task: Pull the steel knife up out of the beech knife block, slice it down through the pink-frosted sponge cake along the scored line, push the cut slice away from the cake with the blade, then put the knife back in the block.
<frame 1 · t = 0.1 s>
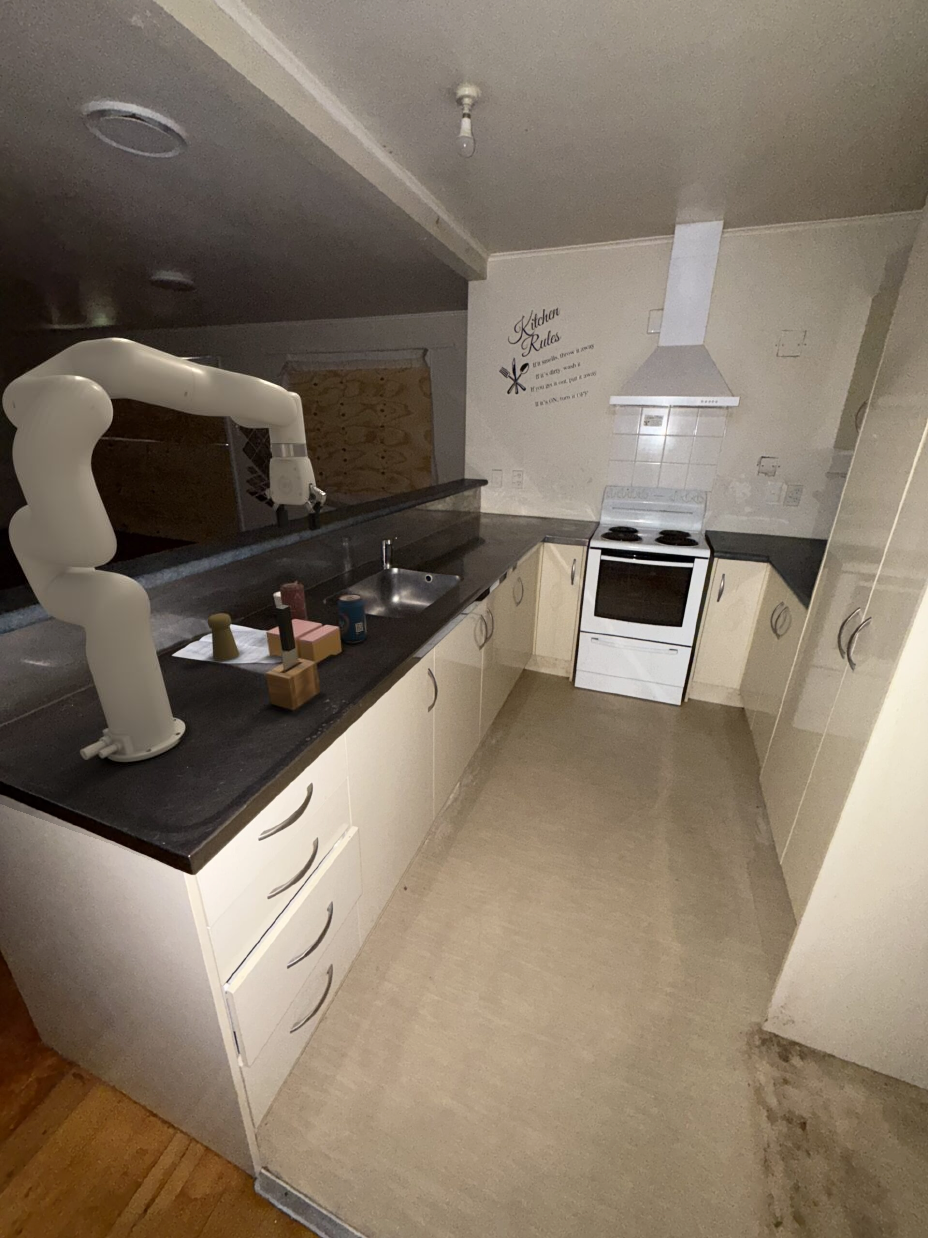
hand: (299, 528, 115), 31 cm above the counter, tool pointing down, fingers open, 9 cm apart
soda can: (354, 639, 132), on the counter
cake: (298, 652, 124), on the counter
can: (297, 631, 137), on the counter
knife: (296, 697, 101), point 1 cm above the counter, touching knife block
knife block: (296, 701, 101), on the counter
cake slice: (322, 657, 121), on the counter
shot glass: (288, 615, 149), on the counter
olive pepper shaker: (226, 656, 122), on the counter
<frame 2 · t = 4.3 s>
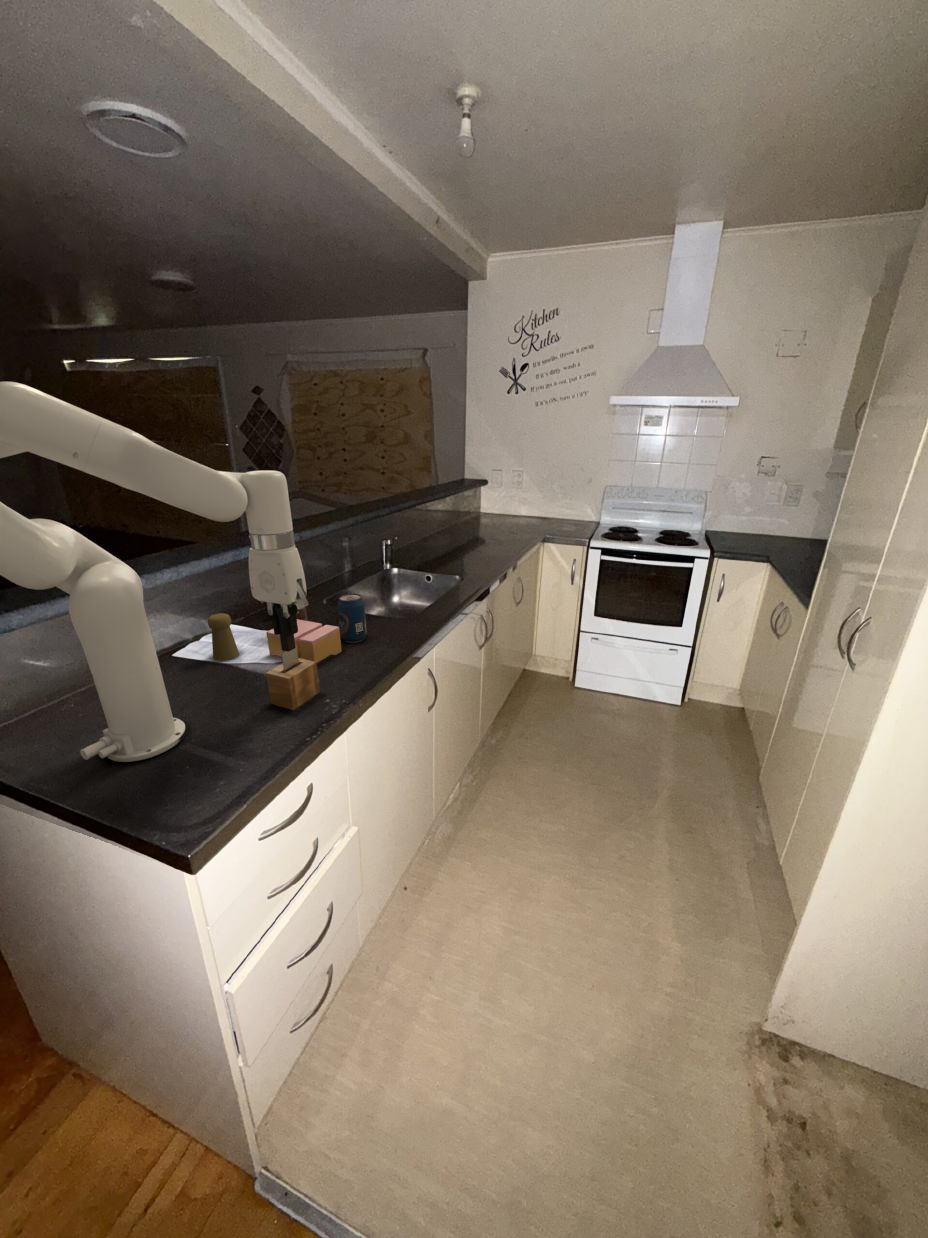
hand: (286, 632, 95), 16 cm above the counter, tool pointing down, fingers closed on knife, 1 cm apart
knife: (296, 697, 101), point 1 cm above the counter, touching gripper, knife block
everything else where it was.
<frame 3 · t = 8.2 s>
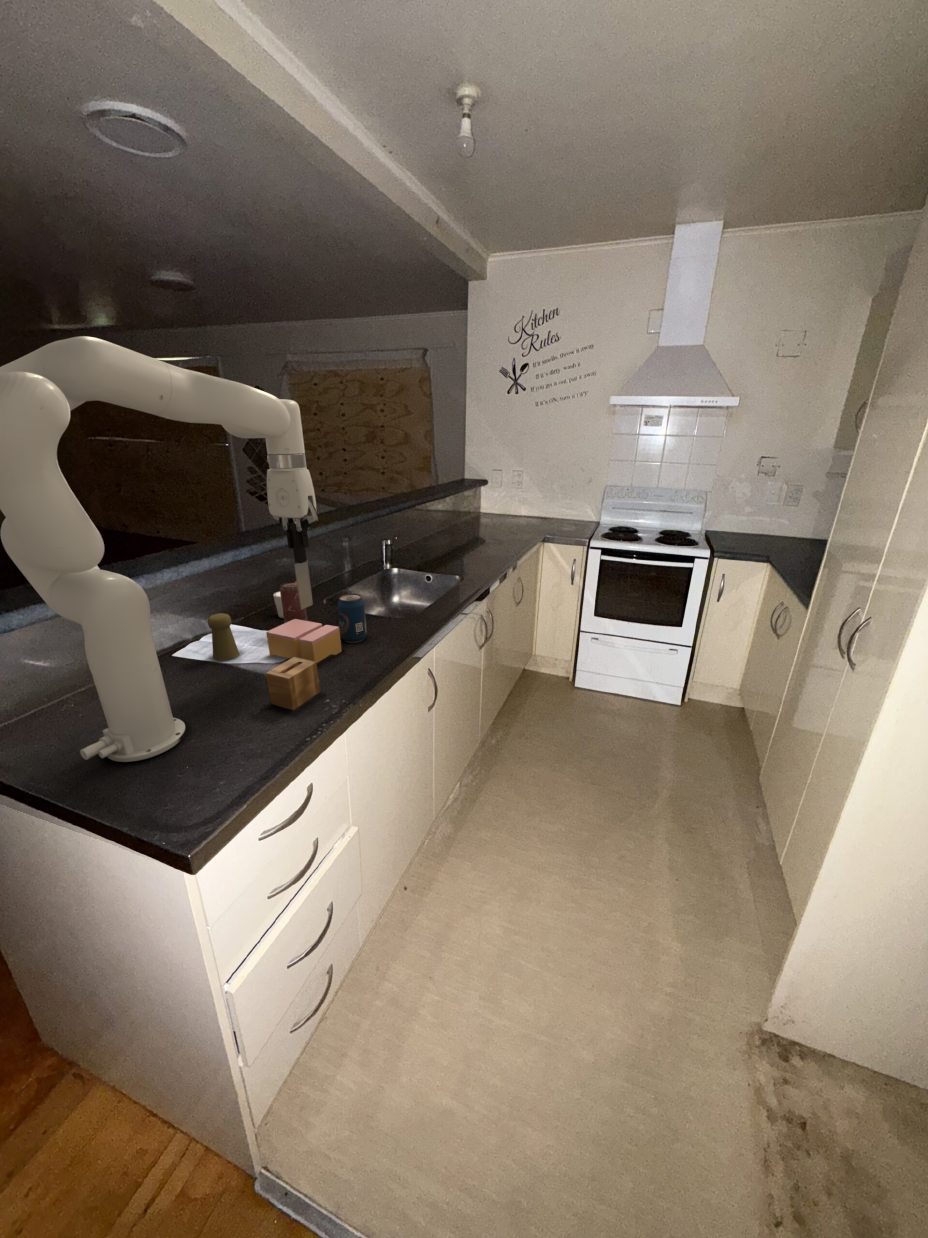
hand: (298, 547, 110), 28 cm above the counter, tool pointing down, fingers closed on knife
knife: (306, 607, 115), point 14 cm above the counter, touching gripper
everything else where it was.
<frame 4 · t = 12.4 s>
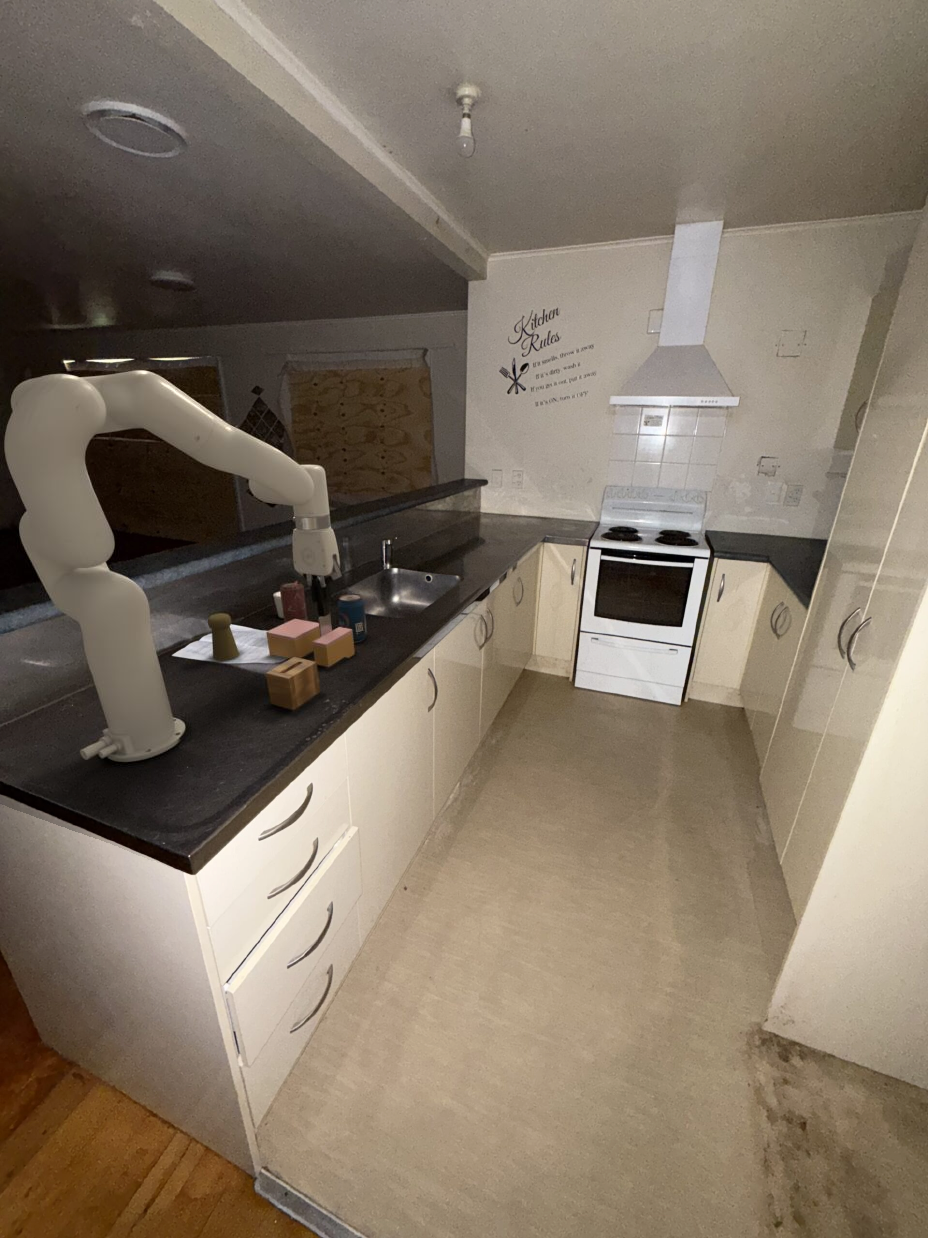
hand: (322, 600, 114), 15 cm above the counter, tool pointing down, fingers closed on knife, 1 cm apart
knife: (329, 656, 120), point 1 cm above the counter, touching cake slice, gripper
cake slice: (335, 660, 119), on the counter, touching knife
everything else where it was.
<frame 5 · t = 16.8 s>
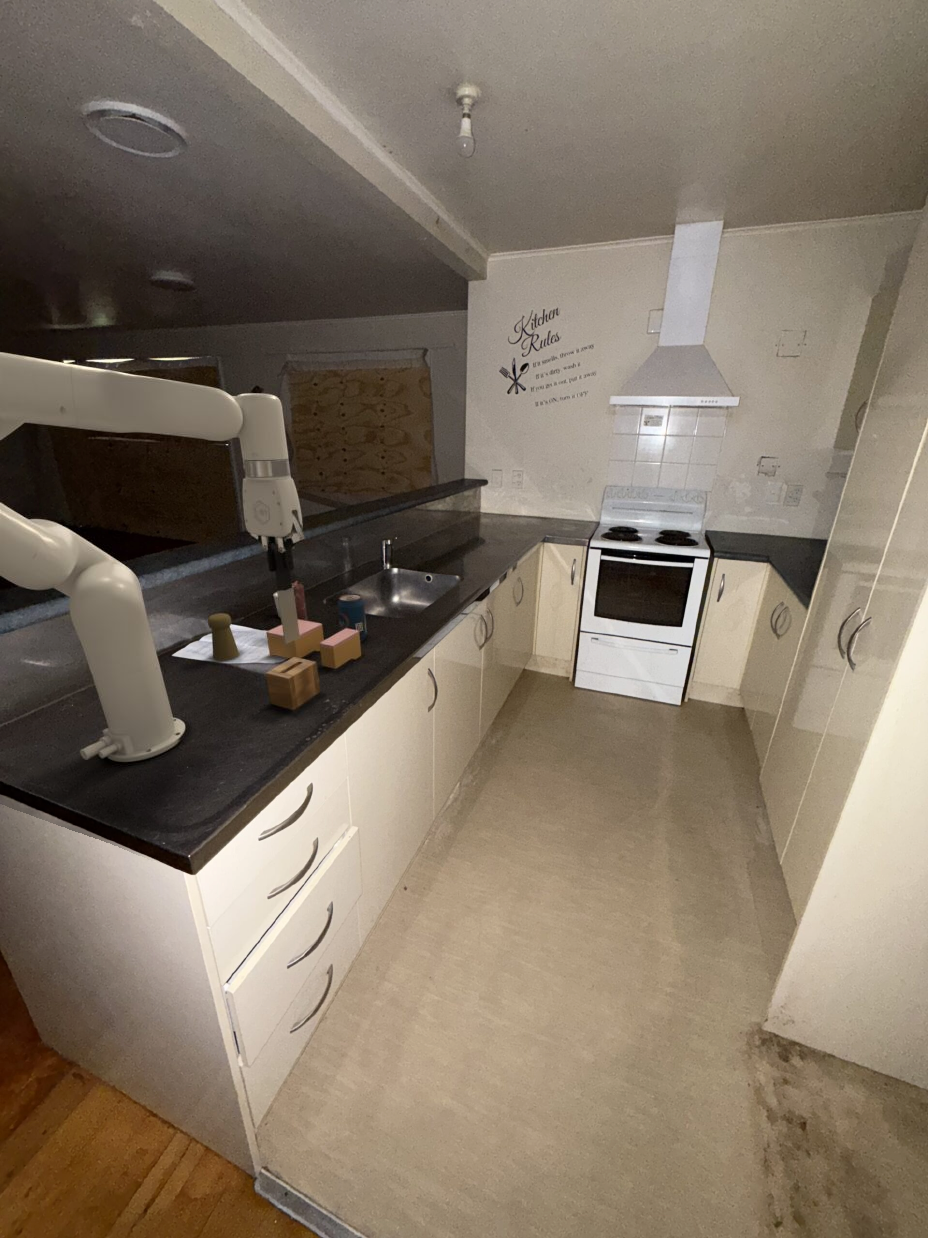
hand: (281, 570, 92), 28 cm above the counter, tool pointing down, fingers closed on knife
knife: (292, 640, 98), point 13 cm above the counter, touching gripper
cake slice: (342, 662, 118), on the counter
everything else where it was.
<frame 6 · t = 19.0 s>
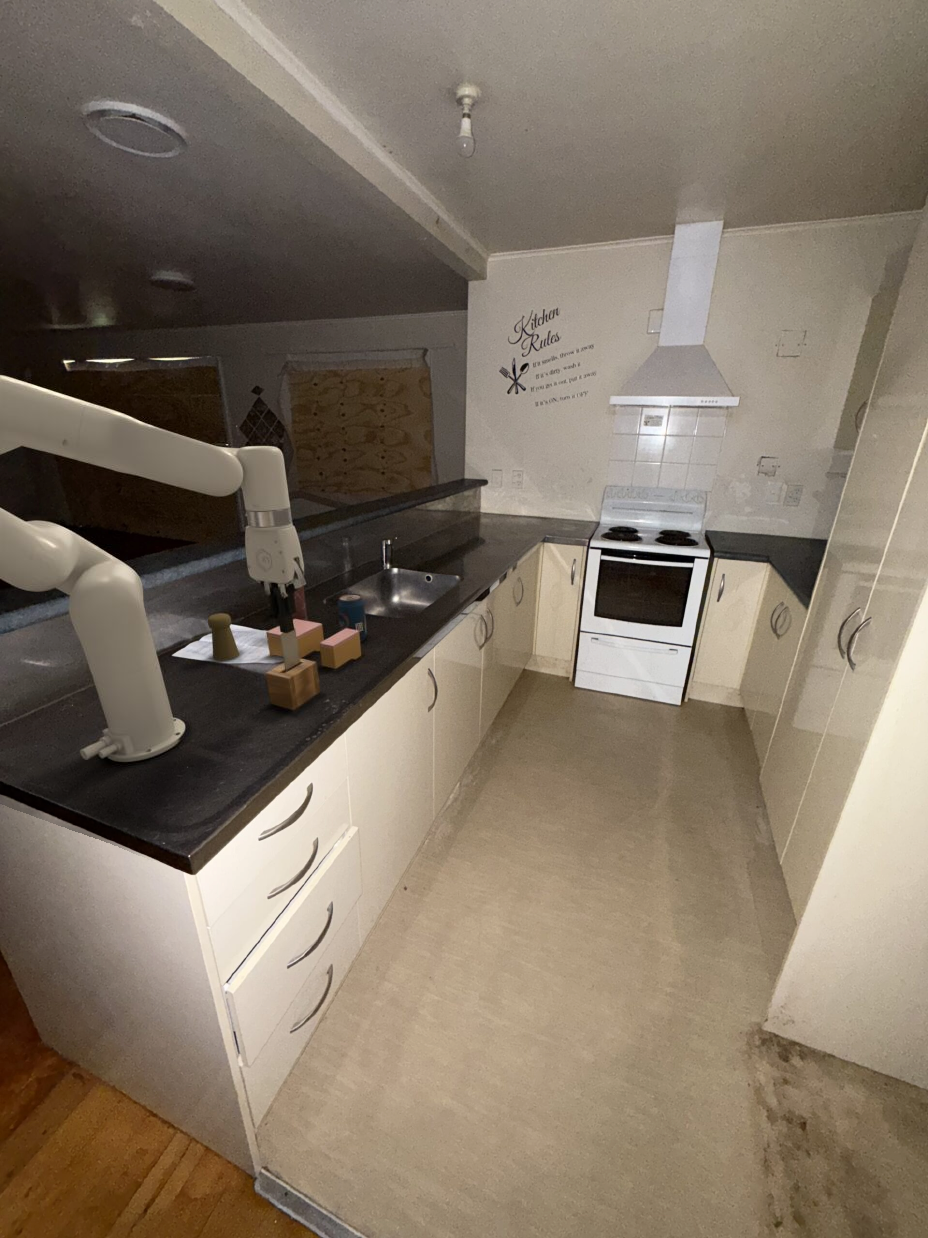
hand: (284, 613, 94), 20 cm above the counter, tool pointing down, fingers closed on knife
knife: (295, 680, 99), point 5 cm above the counter, touching gripper
everything else where it was.
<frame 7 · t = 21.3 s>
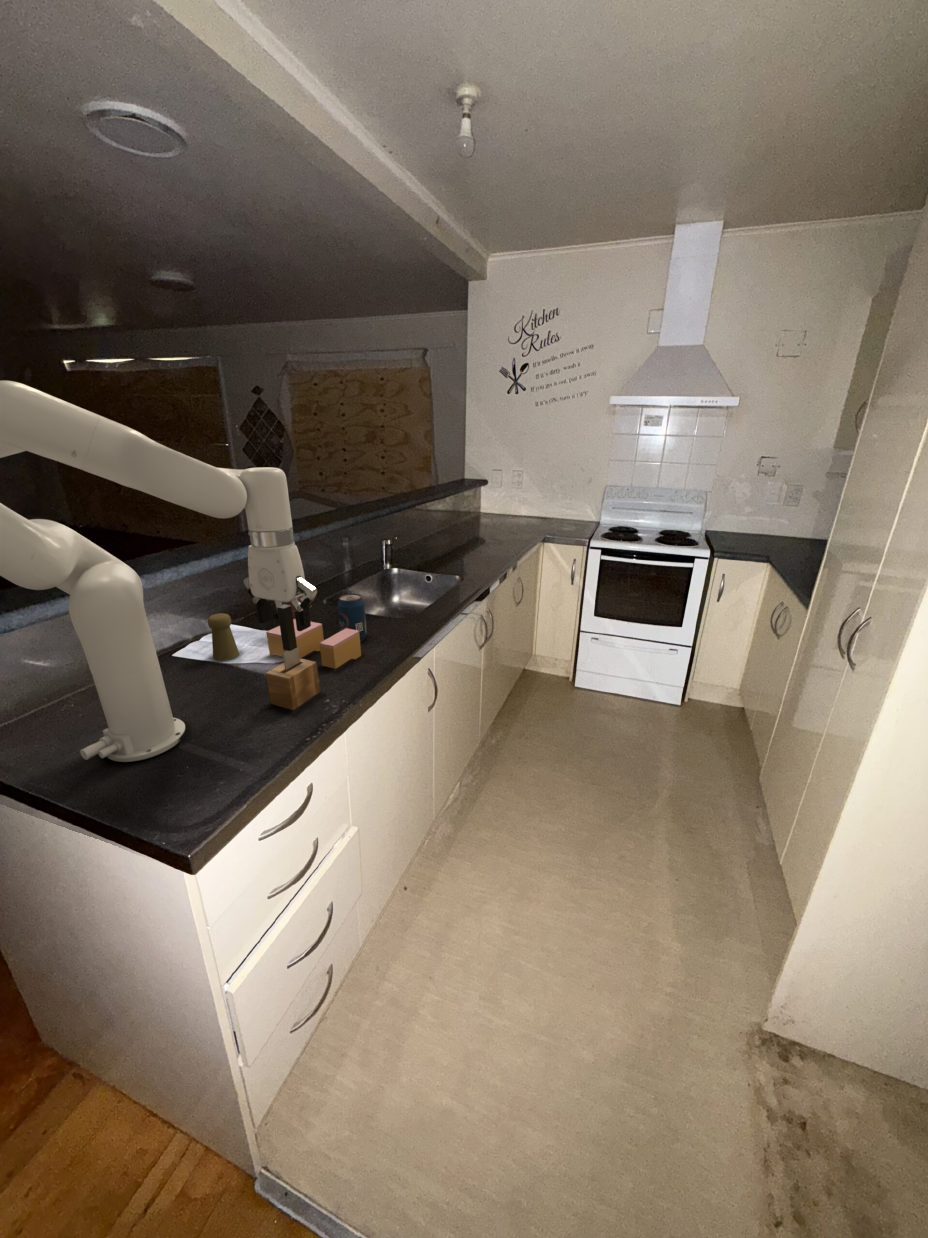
hand: (284, 624, 95), 17 cm above the counter, tool pointing down, fingers open, 9 cm apart
knife: (297, 696, 101), point 1 cm above the counter, touching knife block
everything else where it was.
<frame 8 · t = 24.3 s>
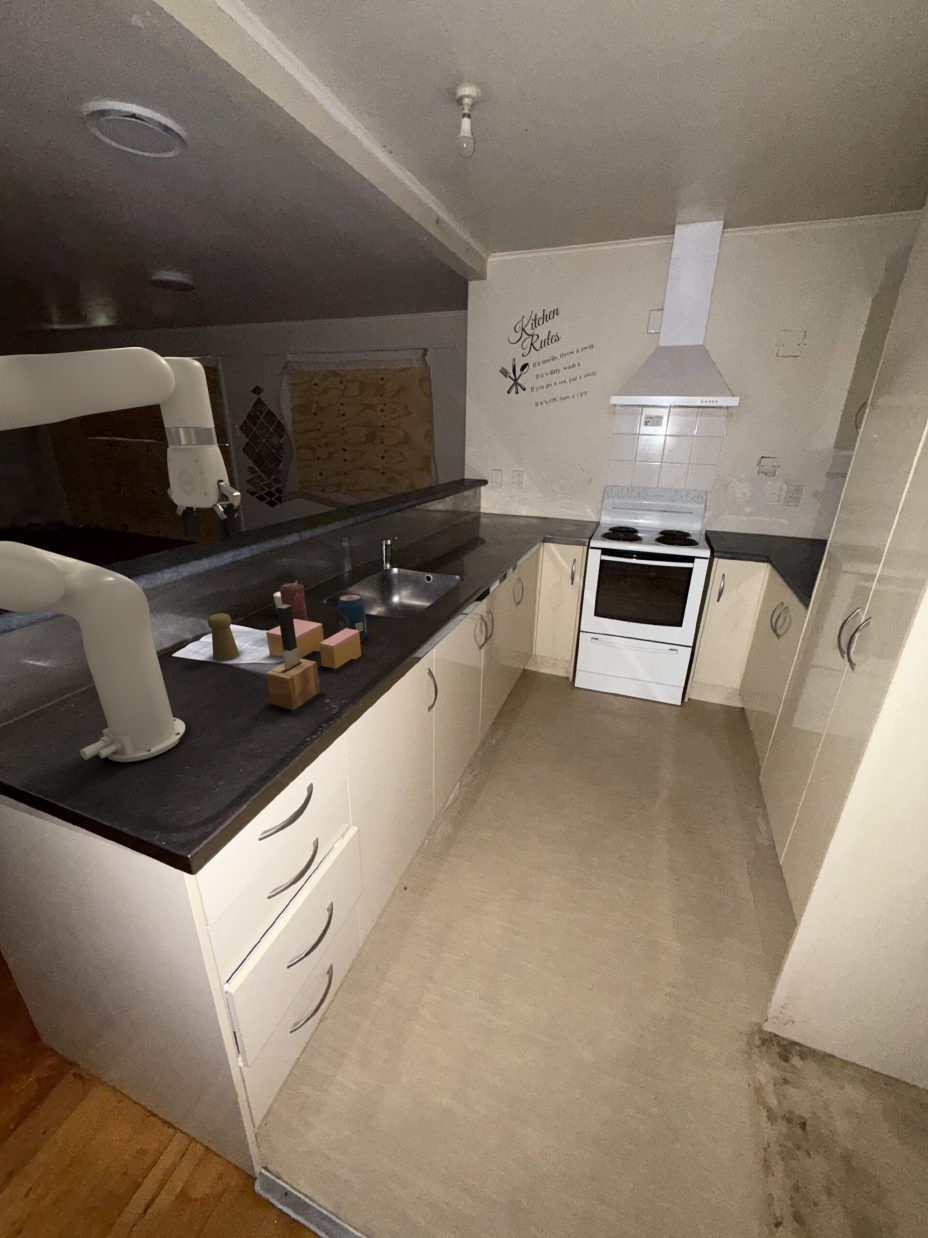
hand: (211, 537, 89), 34 cm above the counter, tool pointing down, fingers open, 9 cm apart
nothing on the counter moved.
at the end: cake slice moved 6.1 cm from its start; cake moved 0.0 cm from its start; knife 0.3 cm off-centre on the knife block, point 1.0 cm above the knife block's base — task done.
